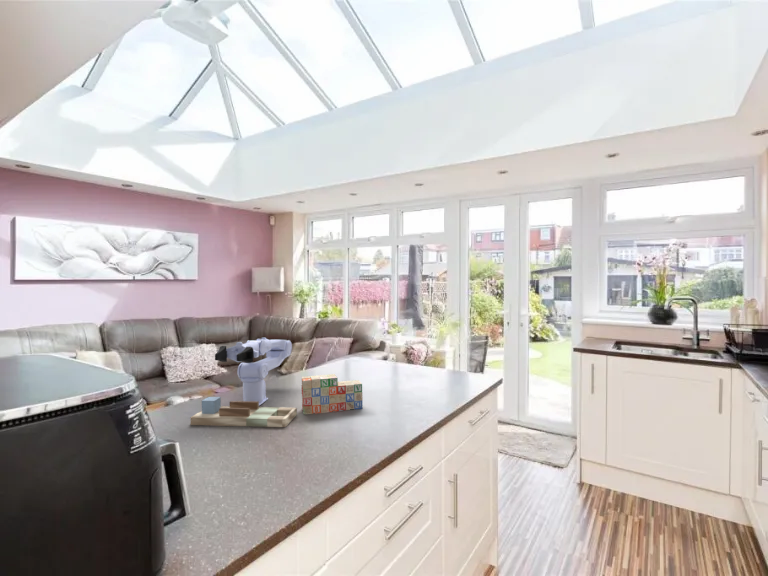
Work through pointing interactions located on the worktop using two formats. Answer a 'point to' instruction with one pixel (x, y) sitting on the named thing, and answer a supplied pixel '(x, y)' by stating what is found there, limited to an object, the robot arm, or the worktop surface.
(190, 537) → the worktop surface
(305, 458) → the worktop surface
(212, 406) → the block
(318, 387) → the stack of blocks
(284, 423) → the board
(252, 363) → the robot arm
